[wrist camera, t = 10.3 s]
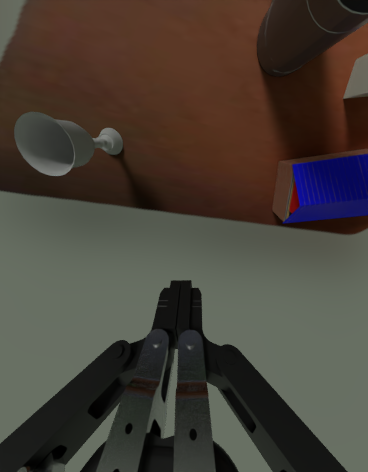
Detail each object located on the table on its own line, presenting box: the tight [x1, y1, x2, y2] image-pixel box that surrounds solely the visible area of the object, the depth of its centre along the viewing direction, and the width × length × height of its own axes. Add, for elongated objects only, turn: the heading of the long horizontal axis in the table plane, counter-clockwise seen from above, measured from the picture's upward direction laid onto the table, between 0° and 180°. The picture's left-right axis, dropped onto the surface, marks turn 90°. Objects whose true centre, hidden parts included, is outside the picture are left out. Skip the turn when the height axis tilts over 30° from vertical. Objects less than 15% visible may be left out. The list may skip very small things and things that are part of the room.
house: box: [272, 148, 368, 224], centre depth 32 cm, size 12×20×12 cm, turn 99°
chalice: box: [14, 112, 123, 176], centre depth 28 cm, size 7×7×18 cm
